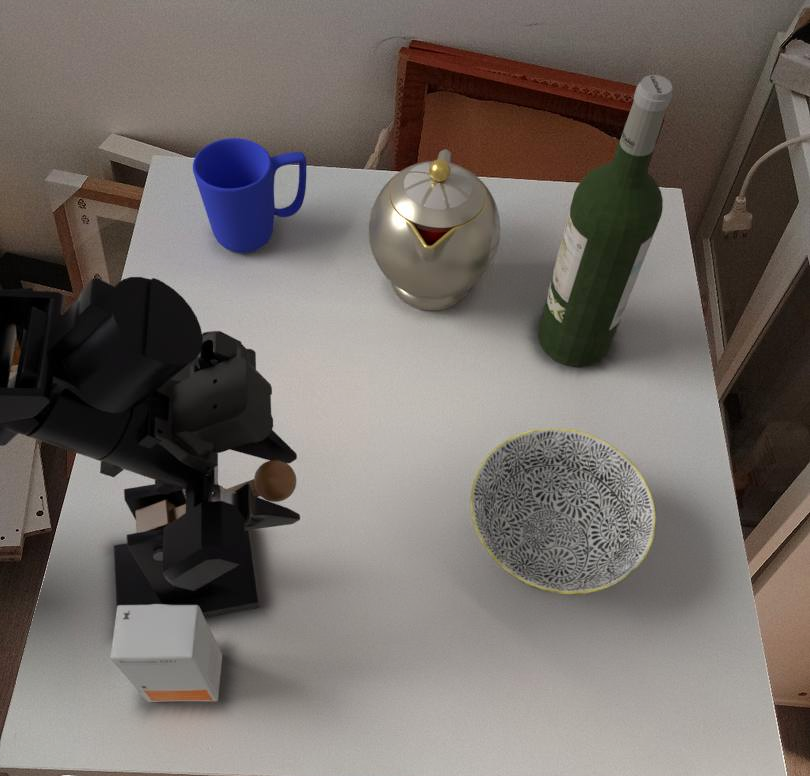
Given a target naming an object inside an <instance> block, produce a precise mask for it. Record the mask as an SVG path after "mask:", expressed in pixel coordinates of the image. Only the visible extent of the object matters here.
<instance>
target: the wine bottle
mask: <svg viewBox="0 0 810 776" xmlns="http://www.w3.org/2000/svg"><path fill="white" fill-rule="evenodd" d="M672 98H673V84H672V82H671V81H670V80H669V79H668V78H666V77H664V76H662V75H659V74H658V75H657V74H650V75H646V76H644V77H643V78H642V79H641V80H640V82H639V83H638V84H637V85H636V88H635V91H634V95H633V102H632V105H631V107H630V108H631V109H630V111H629V114H628V116H627V120H626V121H625V124H624V127H623V131H622V133H621V137H620V139H619V141H618V145H617V148H616V151H615V153H614V157H613V159H612V160H611V162H609V163H605V164H603V165H600V166H597V167H595V168H594V169H593V170H591V171H589V172H588V173H587V174H585V176H584V177H582V179H581V180H580V182H579V183H578V185H577V187H576V188H575V190H574V193H573V196H572V200H571V204H570V208H569V212H568V215H567V218H566V222H565V226H564V229H563V230H564V231H563V235H562V238H561V240H560V241H561V242H560V245H559V248H558V252H557V256H556V260H555V264H554V268H553V272H552V276H551V279H550V283H549V287H548V290H547V294H546V298H545V302H544V306H543V309H542V313H541V317H540V321H539V324H538V330H537V338H538V341H539V345H540V347H541V349H542V350H543V351H544V353H545V354H546V355H547V356H549V358H551V359H552V360H553V361H555V362H558V363H560V364H562V365H565V366H570V367H576V368H579V367H588V366H591V365H593V364H595V363H598V362H600V360H601V359H603V358H604V357H605V356H606V355H607V353H608V352H609V350H610V347H611V345H612V343H613V341H614V340H613V339H614V338H615V336H616V333H617V330H618V328H619V325H620V323H621V320H622V318H623V315H624V313H625V309H626V307H627V304H628V302H629V300H630V297H631V294H632V292H633V289H634V287H635V285H636V282H637V280H638V277H639V274H640V271H641V268H642V266H643V264H644V261H645V260H646V259H645V258H646V256H647V254H648V251H649V248H650V246H651V243H652V241H653V238H654V235H655V232H656V230H657V228H658V225H659V223H660V220H661V217H662V215H663V208H664V206H663V205H664V202H663V201H664V200H663V195H662V191H661V189H660V186H659V185H658V183H657V181H656V179H655V178H654V177H653V176H652V175H651V173H650V172H649V167H650V164H651V160H652V157H653V153H654V150H655V147H656V144H657V140H658V137H659V134H660V131H661V129H662V128H661V127H662V124H663V121H664V117H665V115H666V112H667V108H668V107H669V105H670V103H671V100H672Z"/></svg>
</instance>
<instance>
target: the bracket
mask: <svg viewBox="0 0 810 776" xmlns="http://www.w3.org/2000/svg"><path fill="white" fill-rule="evenodd" d="M184 492H185V489H181V488H176V489H175V490H173V491H172V492H171V493H169V494H168V495H165V494H162V493H159V492H156V491H155V483H154V484H153V483H152V484H147V485H140V486H135V487H129V488H124V489H123V496H124V497H123V498H124V501H125V503H126V505H127V507H128V509H129V511H130V512H131V515H132V516H133V518H134V520H135V521H136V515H135V511H136V510H139V509H141V508H144V507H147V506H150V505H152V504H155V503H158V502H160V501H163V500H168V501H169V502H171V503H172V504H173V505H175V506H176V507H179V506H181V505H184V504H186V497H185V495H184ZM163 537H164V528H163V529H157V530H151V531H145V532H139V533H137V532H134V533H127V534H126V543H120V544H113V558H114V578H115V579H114V580H115V601H116V607H117V606H118V605H152V604H165V605H198V606H199V607H200V609H201V611H202V613H203V616H204V618H208V617H213V616H220V615H224V614H230V613H236V612H240V611H241V612H242V611H246V610H247V611H248V610H251V609H257V608H260V605H261V604H260V599H259V598H260V597H259V591H258V584H257V583H258V582H257V577H256V568H255V563H254V562H255V561H254V554H253V548H252V547H253V546H252V540H251V534H250V530H246V531H245V555H244V557H243V559H242V561H241V563H240V565H238V566H237V567H235V568H233V569H231V570H230V571H228V572H226V573H224V574H223V575H221V576H219V577H217V578H216V579H214V580H212V581H210V582H209V583H207V584H205V585H203V586H202V587H200V588H198V589H196V590H195V591H193V590H189V589H185V588H181V587H177V586H174V585H172V584H171V583H169V582H168V581H167V580H166V579H165V577H164V575H163V573H162V564H163Z"/></svg>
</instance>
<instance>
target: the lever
mask: <svg viewBox="0 0 810 776" xmlns="http://www.w3.org/2000/svg"><path fill="white" fill-rule="evenodd" d="M246 483H249V484H250V487H251V490H252V494H253V495H254V496H255V497H258V498H261V499H264V500H267V501H269V502H272V503H279V502H284V501H285V500H287V499H288V498H290V497H291V496H292V495H293V494H294V491H295V490H296V487H297V476H296V472H295V470H294V469H293V467H291V465H290V464H289V463H285V462H283V461H280V460H267V461H265V462H264V463H262V464H261V465H260V466H259V467H258V468H257V469H256V470H255V473H254V477H253V479H250V480H247V481H244V482H241V483H239V484H236V485H234V486H231V487H228V488H227V489H228V490H231V491H236V490H237V489H239V488H240V487H242V486H243V485H245V484H246ZM185 513H186V504H184V505H181V506H179V507H176V506H175V505H173V504H172V503H171V502H169V501H168V500H163V501H160V502H158V503H155V504H152V505H150V506H147V507H144V508H141V509H139V510H136V511H135V515H136V520H135V531H136V533H139V532H145V531H151V530H157V529H163V528H164V527H166V526H167V525H169V524H170V523H172V522H173V521H175V520H176V519H178V518H179V517H181V516H182V515H184V514H185Z"/></svg>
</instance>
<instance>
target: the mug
mask: <svg viewBox="0 0 810 776" xmlns="http://www.w3.org/2000/svg"><path fill="white" fill-rule="evenodd" d="M307 163H308V162H307V158H306V155H305V153H303V152H302V151H293V152H285V153H281V154H277V155H274V156H270V154H269V152H268V151H267V150H266V149H265V147H263V146H262V145H260V144H259V143H257V142H255V141H252V140H249V139H246V138H239V137H238V138H237V137H231V138H230V137H229V138H222V139H218V140H215V141H213V142H211V143H209V144H207V145H205V146H204V147H202V148H201V149H200V150H199V151H198V152H197V153H196V155H195V156H194V159H193V162H192V172H193V175H194V178H195V182H196V185H197V188H198V191H199V194H200V198H201V200H202V203H203V207H204V209H205V212H206V213H205V214H206V216H207V219H208V222H209V225H210V228H211V231H212V233H213V236H214V238H215V239H216V241H217V242H218V244H219V245H221V246H222V247H223V248H224V249H226V250H228V251H231V252H234V253H240V254H246V253H252V252H255V251H258V250H260V249H262V248H263V247H264V246H266V245H267V244H268V243H269V242H270V240H271V238H272V236H273V234H274V228H275V227H274V226H275V216H276V217H278V218H288V217H291V216H294V215H295V214H297V213H298V212H299V211H300V209H301V208H302V206H303V204H304V200H305V196H306V190H307V189H306V188H307ZM293 164H298V186H297V191H296V196H295V198H294V199H293V201H292V203H291V204H289V205H288V206H285V207H281V208H279V207H276V206H275V205H276V204H275V176H276V173H277V171H278V169H280V168H281V167H284V166H287V165H288V166H289V165H293Z"/></svg>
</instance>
